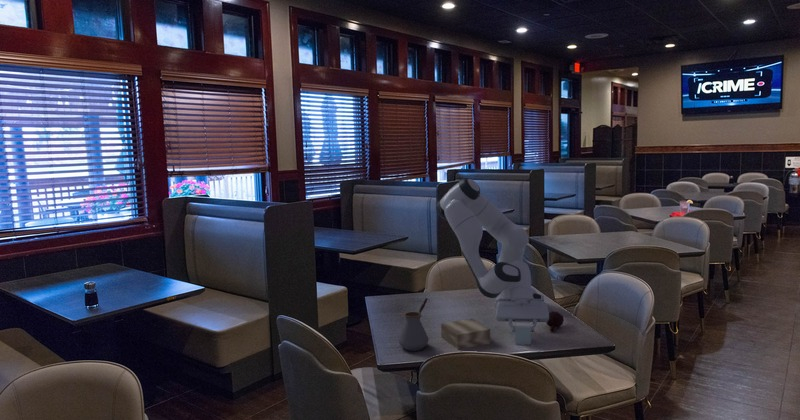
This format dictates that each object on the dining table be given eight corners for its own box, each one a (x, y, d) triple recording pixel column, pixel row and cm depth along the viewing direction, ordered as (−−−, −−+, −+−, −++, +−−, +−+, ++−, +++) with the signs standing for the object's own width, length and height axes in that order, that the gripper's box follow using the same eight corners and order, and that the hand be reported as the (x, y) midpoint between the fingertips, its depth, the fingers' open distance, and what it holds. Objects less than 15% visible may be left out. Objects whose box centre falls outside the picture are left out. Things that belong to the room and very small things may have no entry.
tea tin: (515, 339, 212) (515, 320, 211) (529, 339, 211) (529, 320, 210) (515, 344, 206) (515, 325, 205) (531, 344, 205) (531, 325, 204)
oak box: (472, 332, 221) (472, 318, 220) (490, 344, 208) (490, 329, 207) (441, 338, 216) (441, 323, 215) (457, 350, 203) (457, 334, 202)
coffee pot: (422, 354, 199) (421, 315, 197) (393, 350, 203) (392, 311, 202) (441, 335, 218) (440, 298, 216) (415, 331, 223) (414, 296, 221)
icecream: (547, 306, 231) (539, 319, 218) (564, 304, 227) (557, 317, 214) (551, 321, 231) (543, 336, 218) (569, 319, 228) (561, 334, 215)
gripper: (494, 294, 215) (495, 327, 206) (547, 295, 212) (550, 328, 203) (494, 302, 220) (495, 334, 211) (546, 303, 217) (549, 335, 208)
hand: (523, 331), depth 207 cm, fingers closed on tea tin, 6 cm apart
